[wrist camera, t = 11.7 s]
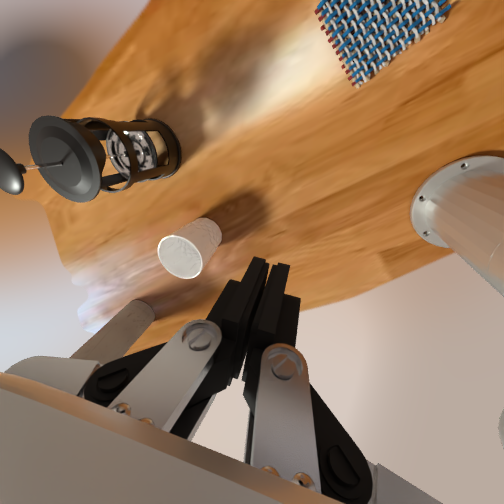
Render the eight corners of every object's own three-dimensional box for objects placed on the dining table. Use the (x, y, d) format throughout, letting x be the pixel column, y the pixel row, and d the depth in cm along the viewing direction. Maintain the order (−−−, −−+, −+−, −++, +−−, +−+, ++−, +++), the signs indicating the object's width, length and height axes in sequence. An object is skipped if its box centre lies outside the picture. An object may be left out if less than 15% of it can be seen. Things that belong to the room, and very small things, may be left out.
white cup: (230, 224, 43) (207, 248, 34) (219, 257, 47) (196, 286, 38) (192, 207, 43) (160, 227, 35) (184, 241, 47) (155, 266, 39)
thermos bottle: (124, 308, 63) (7, 417, 40) (135, 294, 59) (11, 406, 36) (147, 326, 65) (46, 443, 41) (159, 314, 60) (55, 435, 37)
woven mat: (310, 11, 27) (309, 3, 25) (407, -91, 22) (414, -110, 20) (352, 93, 30) (354, 91, 28) (448, 18, 25) (458, 10, 23)
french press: (193, 146, 38) (56, 166, 18) (172, 191, 43) (45, 245, 23) (134, 98, 36) (-81, 64, 17) (118, 149, 41) (-62, 169, 22)
